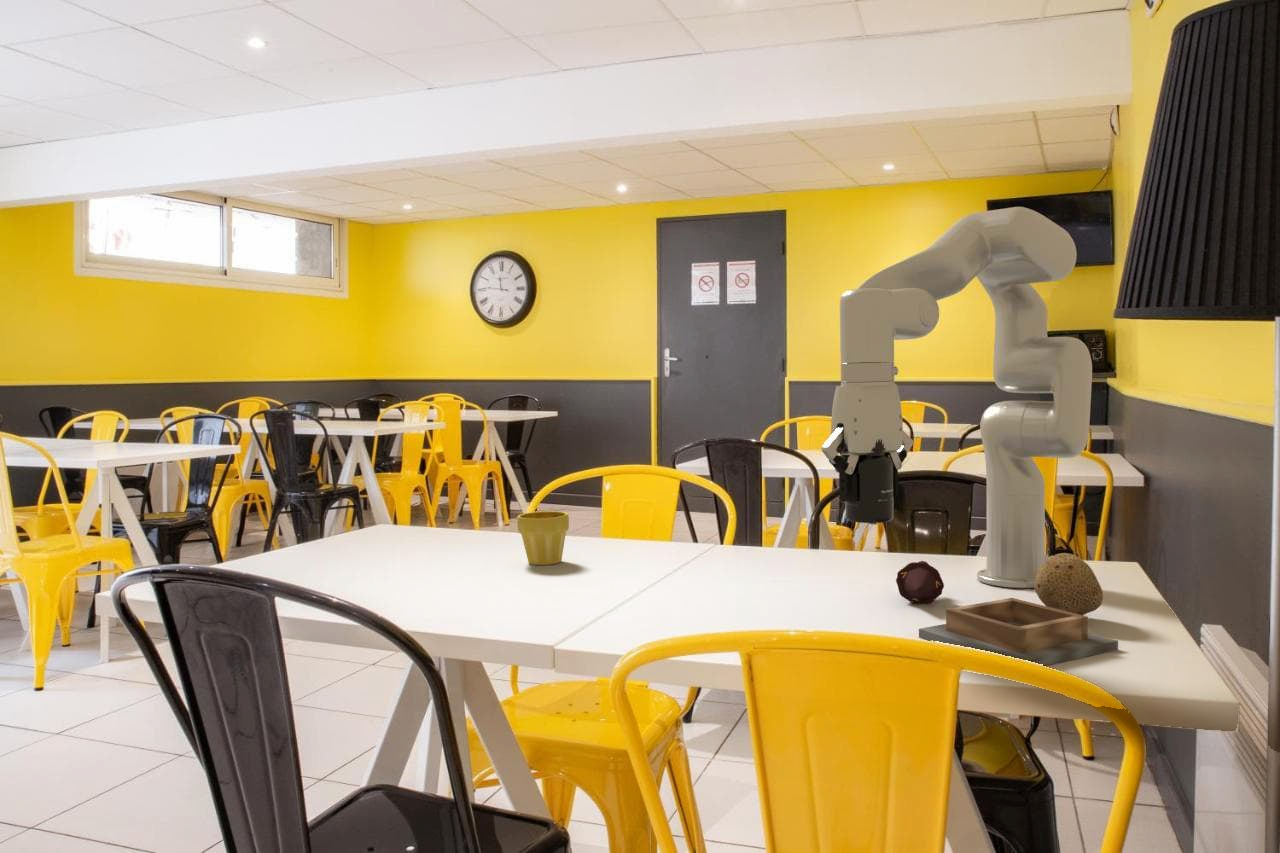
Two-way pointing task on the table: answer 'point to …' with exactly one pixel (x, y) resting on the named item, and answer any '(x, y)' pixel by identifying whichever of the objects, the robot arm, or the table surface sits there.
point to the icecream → (919, 583)
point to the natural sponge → (1068, 585)
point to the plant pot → (543, 535)
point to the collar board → (1020, 631)
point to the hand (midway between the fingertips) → (869, 497)
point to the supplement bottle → (872, 488)
